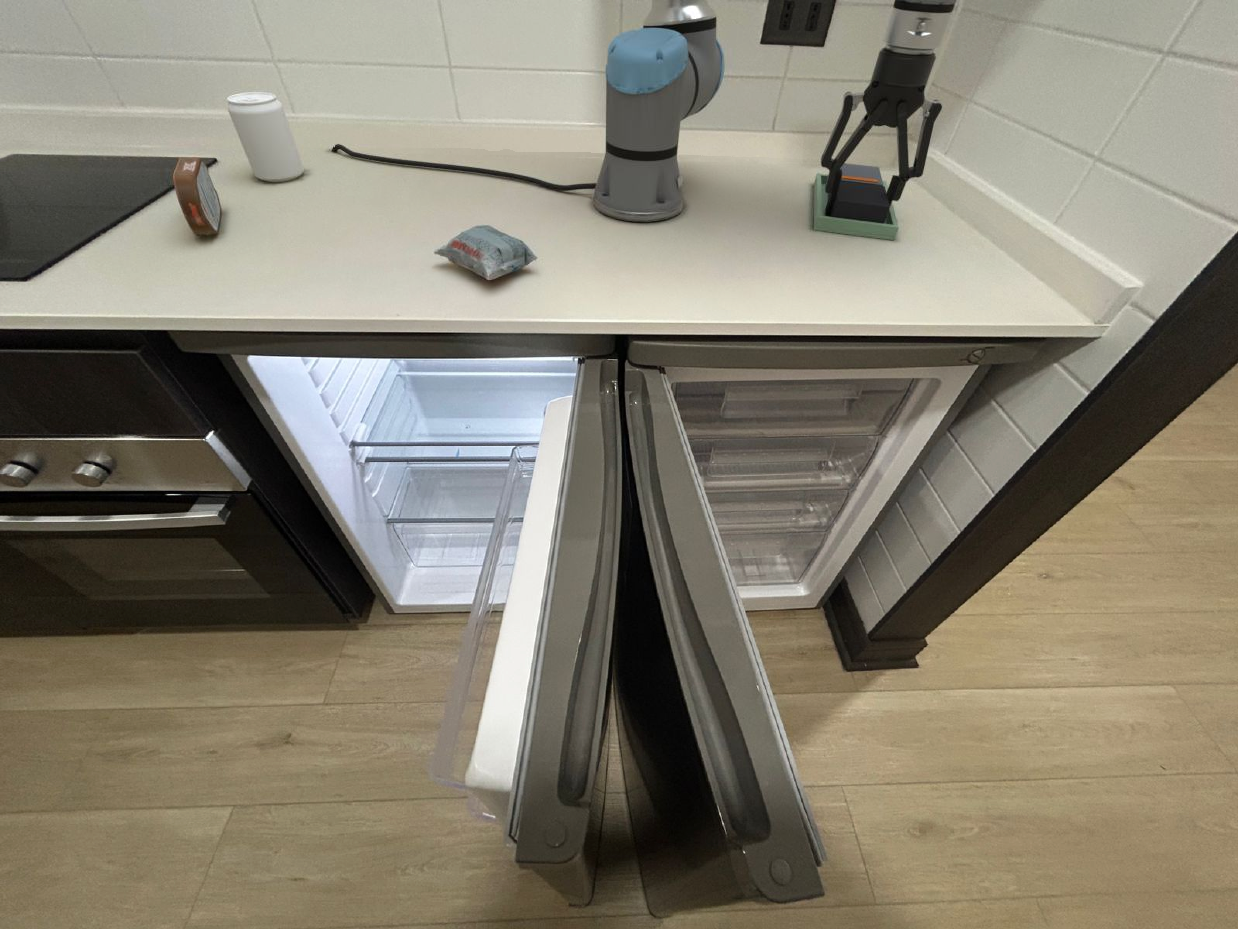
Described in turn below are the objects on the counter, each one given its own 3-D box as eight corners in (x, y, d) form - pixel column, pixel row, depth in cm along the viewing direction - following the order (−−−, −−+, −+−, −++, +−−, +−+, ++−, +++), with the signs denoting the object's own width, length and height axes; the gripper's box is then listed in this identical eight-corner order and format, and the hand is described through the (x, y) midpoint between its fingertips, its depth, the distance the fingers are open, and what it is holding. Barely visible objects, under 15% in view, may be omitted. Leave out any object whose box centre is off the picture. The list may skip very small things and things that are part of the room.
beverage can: (315, 174, 100) (289, 96, 91) (274, 187, 95) (242, 106, 86) (287, 164, 103) (259, 88, 94) (246, 176, 98) (212, 97, 89)
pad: (828, 203, 97) (835, 178, 94) (827, 184, 104) (834, 160, 101) (875, 209, 96) (884, 183, 93) (871, 190, 102) (879, 165, 99)
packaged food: (491, 295, 72) (486, 258, 68) (435, 265, 77) (428, 229, 74) (539, 273, 77) (537, 238, 73) (484, 246, 82) (480, 212, 78)
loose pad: (829, 225, 90) (837, 200, 87) (828, 204, 97) (835, 180, 94) (880, 232, 89) (890, 206, 86) (876, 210, 95) (884, 186, 93)
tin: (205, 207, 88) (177, 149, 82) (227, 205, 89) (201, 147, 83) (197, 246, 79) (164, 183, 73) (222, 243, 80) (191, 181, 74)
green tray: (893, 240, 88) (899, 227, 87) (813, 229, 90) (817, 216, 89) (882, 193, 103) (886, 181, 102) (813, 184, 105) (816, 172, 103)
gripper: (832, 47, 75) (790, 216, 92) (995, 60, 72) (922, 233, 89) (831, 38, 80) (791, 200, 97) (983, 50, 77) (916, 215, 94)
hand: (854, 216), depth 93 cm, fingers closed on loose pad, 8 cm apart
